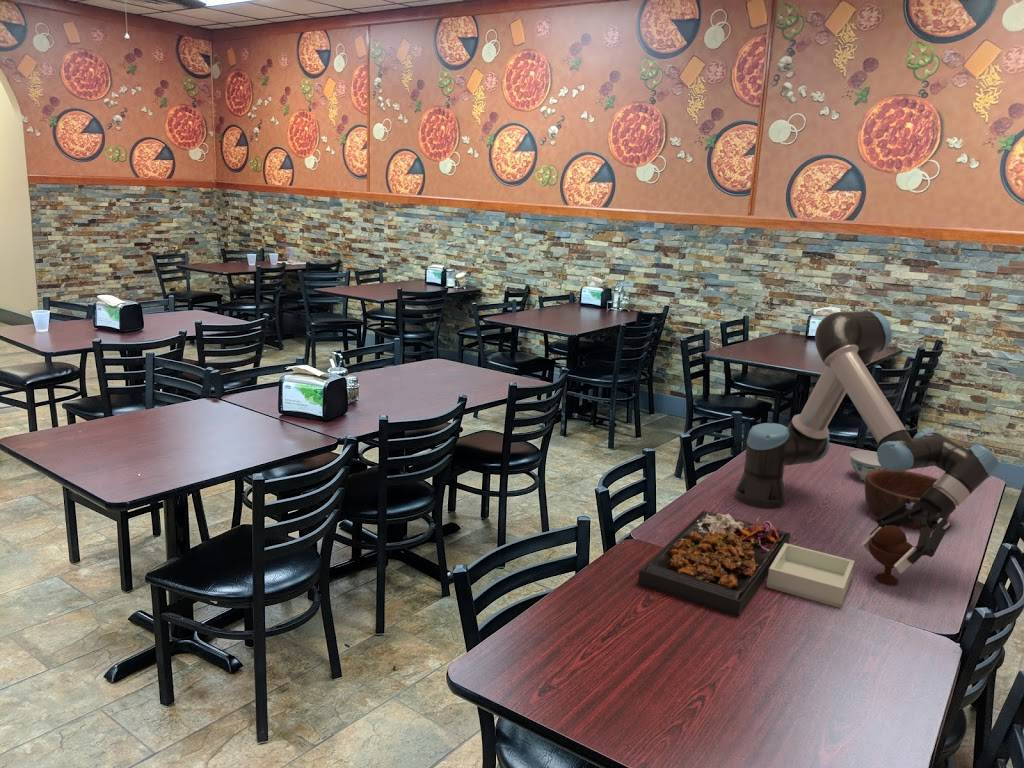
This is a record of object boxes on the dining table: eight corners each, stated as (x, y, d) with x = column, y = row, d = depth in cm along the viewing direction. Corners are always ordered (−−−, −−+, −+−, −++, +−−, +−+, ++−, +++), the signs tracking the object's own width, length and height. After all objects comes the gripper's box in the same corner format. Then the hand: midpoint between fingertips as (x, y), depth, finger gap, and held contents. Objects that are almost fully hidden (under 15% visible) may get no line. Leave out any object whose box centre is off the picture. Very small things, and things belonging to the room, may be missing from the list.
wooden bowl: (958, 539, 226) (965, 506, 224) (863, 524, 234) (869, 491, 231) (943, 507, 249) (949, 476, 247) (857, 494, 257) (862, 464, 254)
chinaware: (897, 478, 273) (901, 456, 271) (891, 491, 260) (895, 469, 259) (851, 468, 280) (854, 447, 279) (842, 480, 268) (846, 459, 266)
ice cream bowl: (915, 593, 194) (926, 537, 191) (867, 587, 196) (876, 531, 193) (904, 573, 204) (914, 519, 201) (858, 567, 207) (867, 513, 203)
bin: (766, 587, 194) (769, 568, 193) (782, 560, 209) (784, 542, 207) (840, 608, 186) (843, 588, 185) (851, 578, 200) (854, 560, 199)
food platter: (701, 524, 230) (704, 491, 227) (788, 548, 217) (793, 512, 215) (637, 587, 193) (641, 547, 190) (738, 619, 180) (743, 578, 178)
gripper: (988, 525, 189) (922, 590, 189) (917, 488, 210) (857, 546, 210) (974, 506, 186) (907, 572, 186) (903, 470, 208) (843, 529, 208)
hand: (880, 558), depth 198 cm, fingers closed on ice cream bowl, 11 cm apart
